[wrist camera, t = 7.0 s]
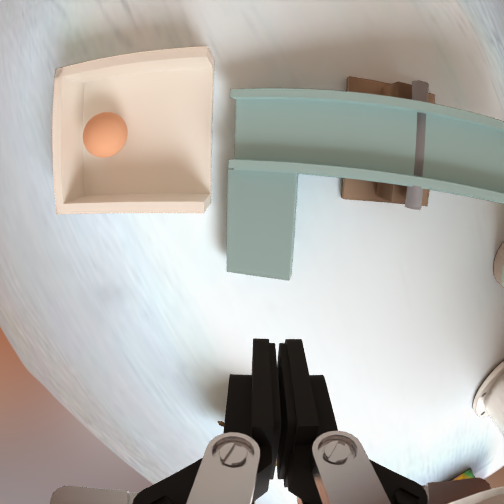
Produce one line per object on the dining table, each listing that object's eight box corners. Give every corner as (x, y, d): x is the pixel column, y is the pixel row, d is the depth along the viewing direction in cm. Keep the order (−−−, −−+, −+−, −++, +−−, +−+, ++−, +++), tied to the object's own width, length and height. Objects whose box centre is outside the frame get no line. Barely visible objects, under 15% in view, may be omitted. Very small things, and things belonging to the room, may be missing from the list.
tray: (214, 60, 21) (207, 46, 18) (211, 202, 25) (203, 213, 21) (79, 76, 21) (55, 69, 17) (80, 203, 25) (56, 214, 21)
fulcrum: (430, 95, 22) (454, 91, 18) (424, 204, 25) (446, 214, 22) (347, 77, 22) (362, 68, 18) (341, 197, 25) (355, 207, 21)
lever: (553, 124, 14) (576, 123, 11) (524, 302, 19) (540, 321, 16) (235, 73, 21) (217, 63, 18) (231, 266, 26) (215, 283, 23)
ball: (137, 109, 21) (98, 108, 18) (136, 155, 22) (98, 159, 20) (111, 114, 23) (75, 115, 20) (110, 156, 24) (75, 160, 21)
